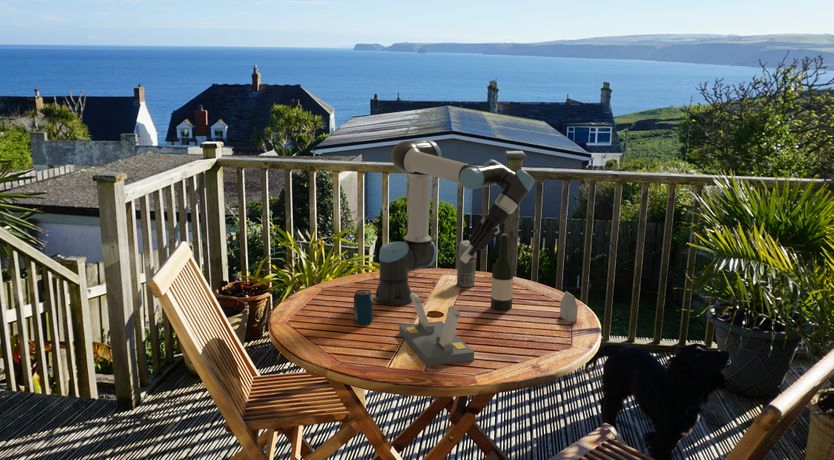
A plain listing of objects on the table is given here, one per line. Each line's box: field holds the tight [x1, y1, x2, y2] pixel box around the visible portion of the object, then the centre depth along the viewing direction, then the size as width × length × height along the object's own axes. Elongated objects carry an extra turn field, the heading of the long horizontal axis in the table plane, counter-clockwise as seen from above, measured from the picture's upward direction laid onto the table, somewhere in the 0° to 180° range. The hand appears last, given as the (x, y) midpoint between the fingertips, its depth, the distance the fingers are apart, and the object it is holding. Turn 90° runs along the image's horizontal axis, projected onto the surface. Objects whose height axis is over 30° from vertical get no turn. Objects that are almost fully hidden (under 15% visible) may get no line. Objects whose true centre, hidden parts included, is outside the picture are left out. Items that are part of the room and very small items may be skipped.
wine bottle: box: [490, 233, 515, 312], centre depth 269 cm, size 8×8×30 cm
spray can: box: [456, 239, 477, 288], centre depth 299 cm, size 8×8×20 cm
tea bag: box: [559, 290, 579, 323], centre depth 259 cm, size 4×7×10 cm, turn 14°
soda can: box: [353, 289, 374, 326], centre depth 251 cm, size 7×7×12 cm
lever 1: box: [410, 292, 429, 330], centre depth 236 cm, size 2×6×13 cm, turn 18°
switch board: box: [398, 320, 475, 367], centre depth 230 cm, size 16×30×6 cm, turn 18°
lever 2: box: [439, 305, 461, 348], centre depth 221 cm, size 2×6×13 cm, turn 19°
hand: (462, 261), depth 245 cm, fingers closed
